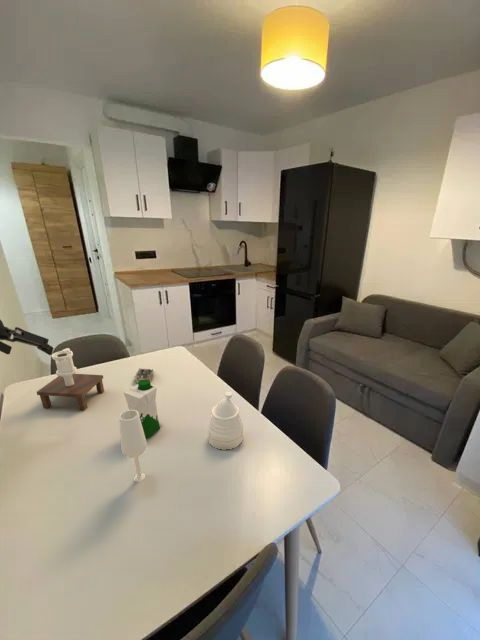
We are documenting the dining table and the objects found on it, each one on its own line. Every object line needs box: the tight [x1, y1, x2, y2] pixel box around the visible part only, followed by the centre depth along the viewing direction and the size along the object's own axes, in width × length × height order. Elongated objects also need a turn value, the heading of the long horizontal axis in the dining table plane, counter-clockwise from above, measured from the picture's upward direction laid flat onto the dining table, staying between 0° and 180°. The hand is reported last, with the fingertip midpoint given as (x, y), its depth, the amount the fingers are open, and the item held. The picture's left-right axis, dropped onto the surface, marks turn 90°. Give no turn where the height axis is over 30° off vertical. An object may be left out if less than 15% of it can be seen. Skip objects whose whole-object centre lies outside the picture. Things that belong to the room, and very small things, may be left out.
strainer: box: [51, 347, 78, 386], centre depth 118 cm, size 7×7×15 cm
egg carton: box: [133, 367, 154, 385], centre depth 142 cm, size 11×8×4 cm
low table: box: [36, 373, 105, 411], centre depth 123 cm, size 18×16×8 cm
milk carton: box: [123, 380, 161, 440], centre depth 104 cm, size 9×9×20 cm
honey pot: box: [207, 391, 244, 451], centre depth 103 cm, size 13×13×18 cm
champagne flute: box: [118, 409, 148, 482], centre depth 83 cm, size 7×7×24 cm
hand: (30, 351), depth 99 cm, fingers open, 13 cm apart
